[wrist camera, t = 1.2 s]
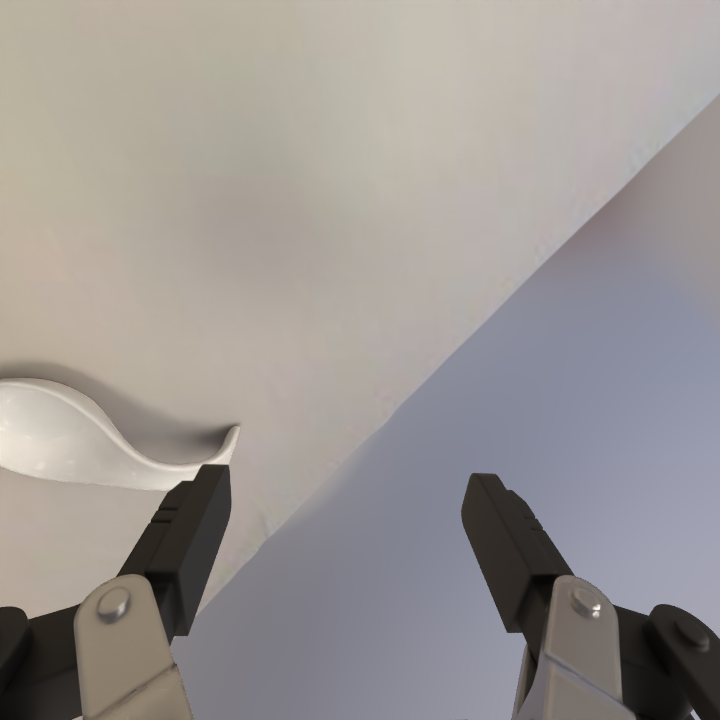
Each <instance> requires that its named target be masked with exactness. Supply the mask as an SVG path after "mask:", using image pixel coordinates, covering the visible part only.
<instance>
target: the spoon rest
mask: <svg viewBox="0 0 720 720" xmlns="http://www.w3.org/2000/svg"><path fill="white" fill-rule="evenodd" d="M239 432H240V428H239V426H234V427H232V428H231V429H230V430H229V432H228V433H227V435H226V438H225V440H224V443H223V445H222V447H221V448H220V450H219V451H218V452H217V453H216V454H214V455H213V456H211V457H209V458H207V459H205V460H202V461H199V462H193V463H186V464H167V463H161V462H158V461H154V460H152V459H149V458H147V457H145V456H144V455H142V454H141V453H139V452H138V451H136V450H135V449H134V448H133V447H132V446H131V445H130V444H129V443H128V442H127V441H126V440H125V439H124V437H123V436H122V435H121V434H120V433H119V431H118V430H117V429H116V427H115V426H114V425H113V423H112V422H111V420H110V419H109V418H108V416H107V415H106V414H105V413H104V411H103V410H102V409H101V408H100V407H99V406H98V405H97V404H96V403H95V402H94V401H93V400H92V399H90V398H89V397H87V396H86V395H84V394H83V393H81V392H79V391H77V390H75V389H73V388H71V387H69V386H66V385H63V384H61V383H57V382H54V381H50V380H44V379H35V378H9V379H0V467H3V468H5V469H8V470H10V471H13V472H16V473H19V474H23V475H27V476H31V477H35V478H41V479H47V480H54V481H64V482H77V483H87V484H96V485H106V486H115V487H124V488H133V489H143V490H157V491H168V490H172V489H173V488H174V487H175V486H176V485H178V484H179V483H180V482H181V481H182V480H183V481H193V480H194V478H195V476H196V474H197V473H198V471H199V469H200V467H201V466H202V465H203V464H225V465H228V464H229V462H230V459H231V456H232V453H233V450H234V447H235V444H236V441H237V438H238V435H239Z"/></svg>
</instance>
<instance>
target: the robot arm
mask: <svg viewBox="0 0 720 720" xmlns="http://www.w3.org/2000/svg"><path fill="white" fill-rule="evenodd" d="M230 512H231V486H230V470H229V466H228V465H225V464H203V465H202V466H201V467H200V469H199V471H198V473H197V474H196V476H195V478H194V480H193V481H183V480H182V481H181V482H180V483H179V484H178V485H176V486H175V487H174V488H173V489H172V490H170V491H169V492H168V493H167V495H166V496H165V498H164V500H163V501H162V503H161V504H160V506H159V509H158V511H156V513H155V514H154V516H153V518H152V519H151V523H149V524H148V526H147V527H146V529H145V531H144V532H143V534H142V536H141V537H140V539H139V540H138V542H137V544H136V545H135V547H134V549H133V550H132V552H131V554H130V555H129V557H128V558H127V560H126V562H125V563H124V565H123V567H122V568H121V570H120V572H119V573H118V574H117V576H116V577H115V578H113V579H111V580H109V581H107V582H105V583H103V584H102V585H100V586H99V587H97V588H96V589H95V590H94V591H92V592H91V593H90V594H89V595H88V596H87V597H86V598H85V600H84V601H83V602H82V603H80V604H78V605H75V606H73V607H70V608H66V609H63V610H59V611H56V612H53V613H49V614H46V615H42V616H39V617H35V618H32V619H29V620H28V618H27V616H26V614H25V612H24V611H23V610H22V609H20V608H17V607H0V720H72V719H74V718H77V717H79V716H82V715H83V720H194V717H193V714H192V710H191V707H190V704H189V701H188V698H187V695H186V691H185V688H184V685H183V681H182V678H181V675H180V672H179V669H178V667H177V664H175V662H174V659H173V656H172V653H171V650H170V645H171V642H172V640H173V637H174V636H188V634H189V631H190V629H191V626H192V623H193V620H194V618H195V615H196V612H197V609H198V606H199V603H200V601H201V598H202V595H203V592H204V589H205V586H206V584H207V581H208V578H209V575H210V572H211V569H212V567H213V564H214V561H215V558H216V555H217V553H218V550H219V547H220V544H221V541H222V538H223V536H224V533H225V530H226V527H227V524H228V521H229V517H230ZM461 516H462V523H463V526H464V529H465V531H466V534H467V536H468V539H469V541H470V544H471V546H472V548H473V551H474V553H475V555H476V558H477V561H478V563H479V565H480V568H481V570H482V573H483V575H484V578H485V580H486V582H487V585H488V587H489V589H490V592H491V595H492V597H493V599H494V602H495V604H496V607H497V609H498V611H499V614H500V616H501V619H502V621H503V624H504V626H505V629H506V631H507V633H523V635H524V637H525V639H526V642H527V644H526V646H525V649H524V654H523V659H522V665H521V670H520V675H519V681H518V686H517V692H516V697H515V702H514V708H513V714H512V719H511V720H695V719H694V718H693V717H692V715H691V713H690V712H691V711H692V710H693V709H694V710H695V712H696V713H697V715H698V716H699V718H700V719H701V720H720V639H719V638H718V637H717V635H715V633H714V632H713V631H712V630H711V629H710V628H709V627H708V626H706V625H705V624H704V623H703V622H701V621H700V620H699V619H697V618H696V617H694V616H693V615H691V614H690V613H688V612H686V611H684V610H682V609H680V608H677V607H675V606H672V605H666V604H660V605H657V606H655V607H654V609H653V610H652V611H651V613H650V615H649V616H647V615H644V614H641V613H637V612H635V611H631V610H628V609H625V608H622V607H619V606H615V605H613V604H612V603H611V602H610V601H609V599H608V598H607V597H606V596H605V595H604V594H603V593H602V592H601V591H600V590H599V589H598V588H597V587H595V586H594V585H592V584H591V583H589V582H588V581H586V580H584V579H582V578H579V577H576V576H575V575H574V574H573V572H572V571H571V569H570V568H569V566H568V565H567V563H566V562H565V560H564V559H563V557H562V556H561V554H560V553H559V551H558V550H557V548H556V547H555V545H554V544H553V542H552V541H551V539H550V538H549V536H548V535H547V533H546V532H545V531H544V530H543V527H542V526H541V524H540V523H539V521H538V520H537V519H535V515H534V514H533V512H532V511H531V509H530V508H529V506H528V505H527V503H526V502H525V501H524V500H523V499H522V498H520V497H519V496H518V495H517V494H516V493H515V492H514V491H512V490H506V488H505V487H504V485H503V483H502V482H501V480H500V479H499V477H498V476H497V475H496V474H485V473H484V474H483V473H473V474H472V475H471V476H470V479H469V483H468V486H467V490H466V494H465V497H464V501H463V505H462V510H461Z"/></svg>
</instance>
